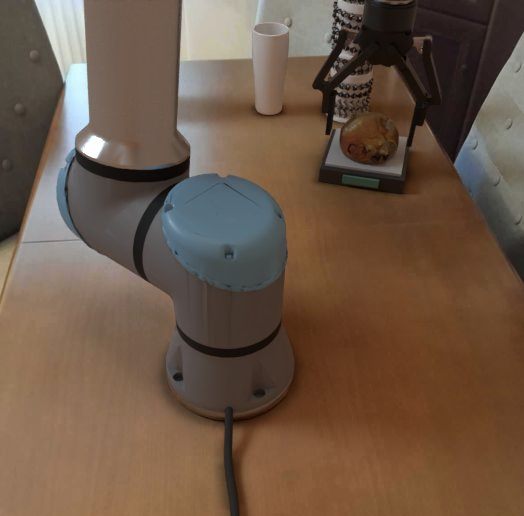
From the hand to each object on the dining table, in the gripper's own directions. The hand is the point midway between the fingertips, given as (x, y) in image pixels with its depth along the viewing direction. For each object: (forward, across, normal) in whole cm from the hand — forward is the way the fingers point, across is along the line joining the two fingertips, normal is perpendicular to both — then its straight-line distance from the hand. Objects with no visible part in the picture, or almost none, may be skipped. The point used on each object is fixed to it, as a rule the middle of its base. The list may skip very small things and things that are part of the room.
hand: (368, 137), depth 100 cm
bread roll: (+3, 0, 0) cm, 3 cm away
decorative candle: (+5, +6, -19) cm, 21 cm away
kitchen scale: (+5, 0, 0) cm, 6 cm away
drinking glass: (+6, +21, -16) cm, 27 cm away
